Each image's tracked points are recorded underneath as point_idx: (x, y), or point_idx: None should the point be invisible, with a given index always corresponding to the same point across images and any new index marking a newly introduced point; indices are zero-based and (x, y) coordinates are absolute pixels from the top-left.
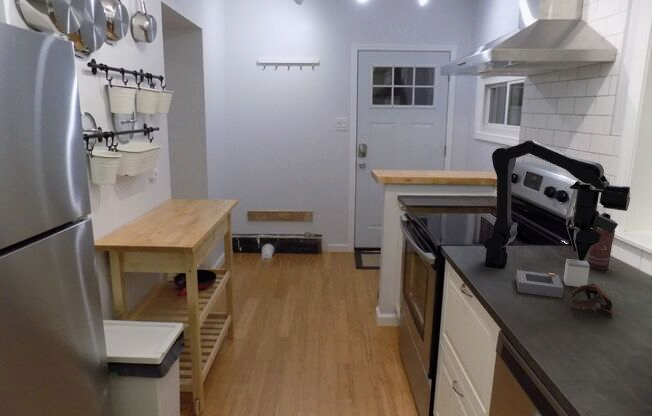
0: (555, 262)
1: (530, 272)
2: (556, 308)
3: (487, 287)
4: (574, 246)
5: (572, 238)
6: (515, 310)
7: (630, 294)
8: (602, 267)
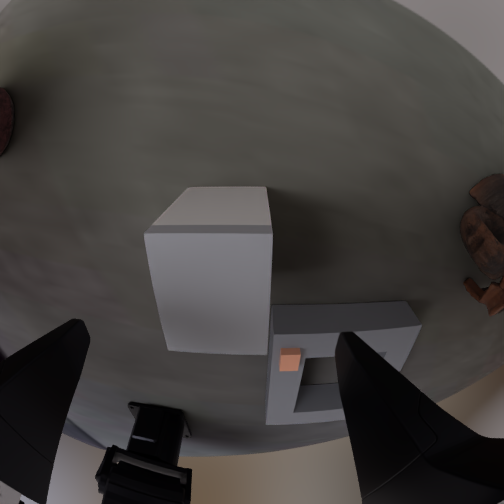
0: (21, 266)
1: (275, 403)
2: (463, 316)
3: (343, 428)
4: (75, 368)
5: (53, 430)
6: (455, 378)
7: (285, 4)
8: (6, 105)
